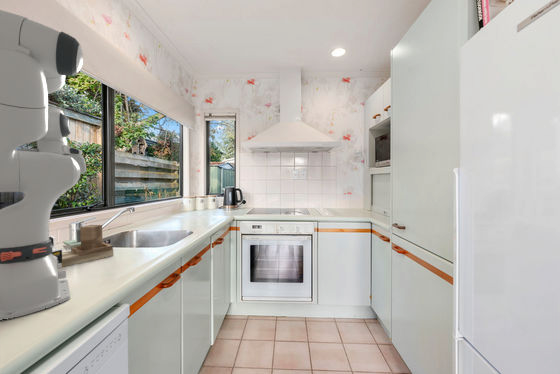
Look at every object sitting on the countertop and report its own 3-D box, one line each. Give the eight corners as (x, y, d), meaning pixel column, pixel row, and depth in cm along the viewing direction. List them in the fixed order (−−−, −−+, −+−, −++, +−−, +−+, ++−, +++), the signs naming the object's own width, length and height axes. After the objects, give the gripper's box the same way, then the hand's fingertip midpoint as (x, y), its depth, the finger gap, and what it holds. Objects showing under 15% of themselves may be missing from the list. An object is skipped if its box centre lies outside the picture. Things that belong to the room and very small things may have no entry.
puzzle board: (113, 255, 104) (113, 246, 104) (56, 268, 89) (55, 256, 89) (102, 250, 111) (102, 241, 111) (47, 261, 97) (47, 251, 96)
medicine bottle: (40, 275, 84) (38, 239, 83) (24, 274, 85) (22, 238, 85) (62, 268, 90) (61, 235, 90) (47, 266, 92) (46, 234, 92)
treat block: (92, 252, 100) (92, 227, 100) (81, 251, 101) (80, 227, 100) (102, 248, 105) (102, 225, 105) (91, 248, 106) (91, 224, 105)
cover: (102, 241, 110) (102, 228, 110) (71, 247, 102) (70, 233, 101) (93, 238, 117) (93, 226, 117) (63, 243, 108) (63, 230, 108)
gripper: (16, 146, 89) (18, 185, 89) (86, 151, 105) (88, 183, 105) (13, 148, 93) (15, 186, 93) (81, 152, 109) (83, 184, 109)
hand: (54, 184), depth 99 cm, fingers open, 8 cm apart
